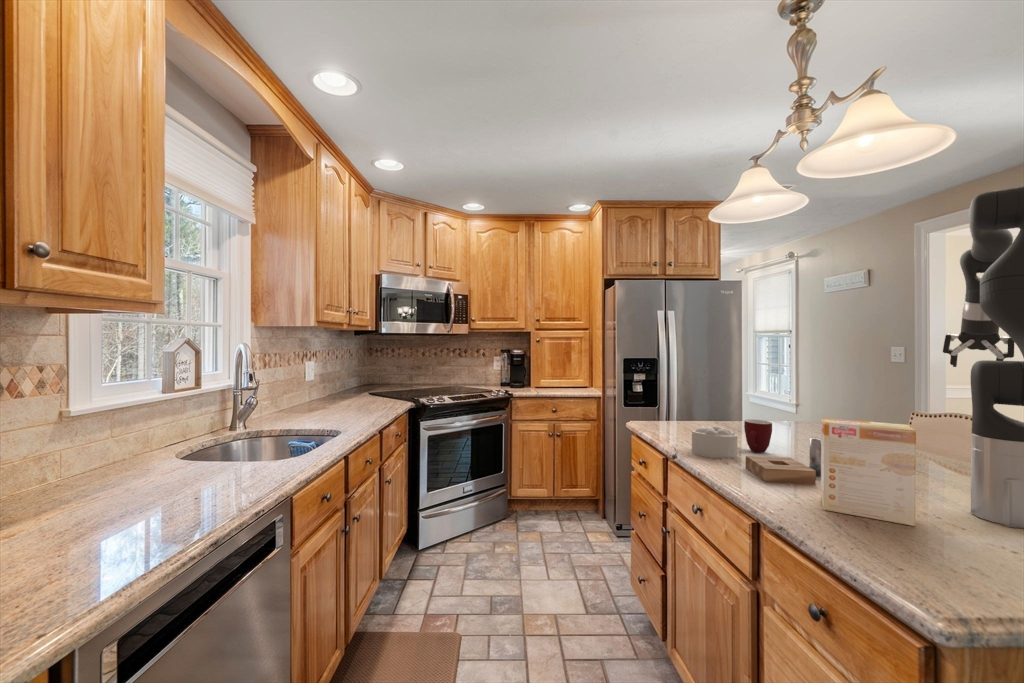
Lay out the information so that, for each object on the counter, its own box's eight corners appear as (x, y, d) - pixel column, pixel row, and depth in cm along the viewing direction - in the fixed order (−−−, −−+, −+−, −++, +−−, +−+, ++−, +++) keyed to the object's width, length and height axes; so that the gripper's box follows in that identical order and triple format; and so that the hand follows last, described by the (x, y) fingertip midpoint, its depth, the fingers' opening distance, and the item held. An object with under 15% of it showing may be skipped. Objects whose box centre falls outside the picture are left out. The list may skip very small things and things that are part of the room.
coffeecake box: (906, 515, 89) (907, 424, 89) (916, 527, 83) (917, 429, 82) (819, 500, 97) (820, 416, 97) (822, 510, 91) (824, 421, 90)
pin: (825, 476, 112) (825, 439, 112) (813, 476, 112) (813, 439, 112) (818, 473, 115) (819, 437, 115) (807, 472, 115) (807, 436, 115)
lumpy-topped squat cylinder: (698, 447, 143) (698, 422, 143) (740, 454, 135) (740, 428, 135) (689, 454, 135) (689, 427, 135) (733, 461, 127) (733, 433, 127)
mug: (768, 457, 132) (769, 426, 132) (740, 453, 137) (740, 423, 137) (773, 451, 140) (773, 421, 140) (746, 447, 145) (746, 418, 145)
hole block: (815, 486, 106) (815, 470, 106) (765, 483, 107) (765, 468, 107) (790, 471, 117) (790, 457, 117) (745, 469, 119) (745, 455, 119)
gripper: (944, 318, 125) (940, 369, 129) (1018, 320, 114) (1011, 375, 118) (947, 312, 130) (943, 361, 134) (1019, 314, 119) (1012, 367, 123)
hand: (975, 368), depth 126 cm, fingers open, 8 cm apart
